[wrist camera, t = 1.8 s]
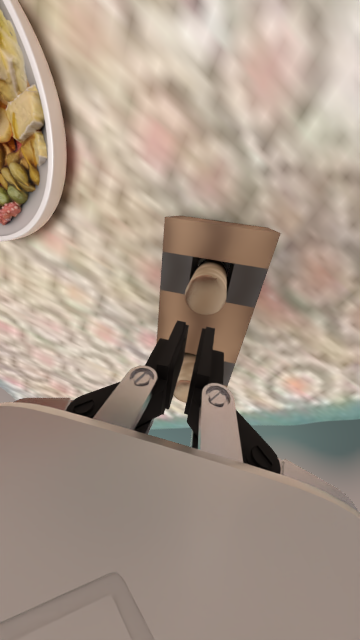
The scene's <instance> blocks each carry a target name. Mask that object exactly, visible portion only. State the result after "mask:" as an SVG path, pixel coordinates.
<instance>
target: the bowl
mask: <svg viewBox="0 0 360 640" xmlns="http://www.w3.org/2000/svg"><path fill="white" fill-rule="evenodd" d="M66 163H67V150H66V136H65V128H64V122H63V116H62V111H61V106H60V102H59V98H58V94H57V91H56V87H55V84H54V81H53V77H52V75H51V72H50V69H49V66H48V63H47V61H46V58H45V56H44V53H43V50H42V48H41V46H40V44H39V41H38V39H37V37H36V35H35V33H34V31H33V28H32V26H31V24H30V22H29V20H28V18H27V16H26V15H25V13H24V11H23V9H22V7H21V5H20V4H19V2H18V0H0V241H9V240H15V239H20V238H23V237H26V236H28V235H30V234H32V233H34V232H36V231H37V230H39V229H40V228H41V227H42V226H43V225H44V224H45V223H46V222H47V221H48V220H49V219H50V217H51V216H52V214H53V213H54V211H55V209H56V208H57V205H58V203H59V201H60V198H61V195H62V191H63V187H64V182H65V176H66Z"/></svg>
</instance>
